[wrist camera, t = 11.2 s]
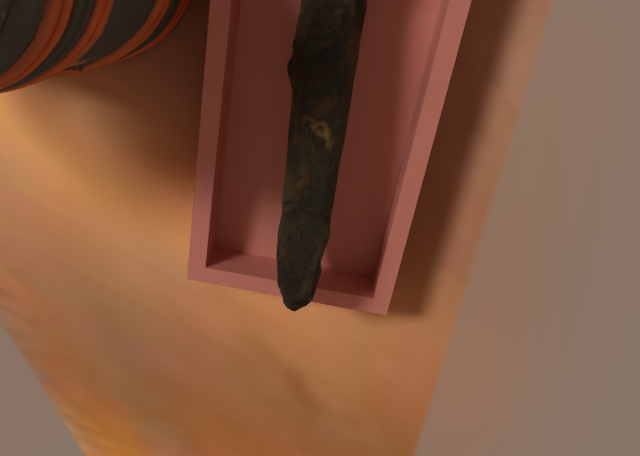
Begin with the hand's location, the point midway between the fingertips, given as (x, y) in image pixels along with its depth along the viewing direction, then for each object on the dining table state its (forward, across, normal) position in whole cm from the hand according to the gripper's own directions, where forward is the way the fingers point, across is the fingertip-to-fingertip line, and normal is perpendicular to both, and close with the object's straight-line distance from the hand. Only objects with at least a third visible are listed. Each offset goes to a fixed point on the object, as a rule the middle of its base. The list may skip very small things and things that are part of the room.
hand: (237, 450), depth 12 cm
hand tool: (+22, +1, 0) cm, 22 cm away
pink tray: (+24, 0, +3) cm, 25 cm away
